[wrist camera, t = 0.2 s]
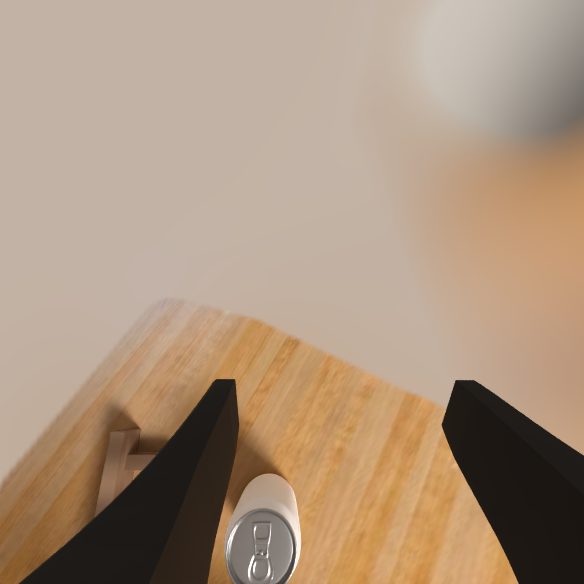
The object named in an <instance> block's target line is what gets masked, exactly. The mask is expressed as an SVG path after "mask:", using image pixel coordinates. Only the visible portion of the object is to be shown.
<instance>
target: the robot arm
mask: <svg viewBox="0 0 584 584" xmlns="http://www.w3.org/2000/svg"><path fill="white" fill-rule="evenodd" d="M442 428H443V431H444V433H445V436H446V438H447V441H448V444H449V446H450V449H451V451H452V453H453V456H454V458H455V460H456V462H457V464H458V466H459V468H460V470H461V471H462V473H463V475H464V477H465V479H466V481H467V483H468V485H469V486H470V488H471V490H472V492H473V494H474V496H475V497H476V499H477V501H478V503H479V505H480V507H481V508H482V510H483V512H484V514H485V516H486V518H487V520H488V521H489V523H490V525H491V527H492V529H493V531H494V532H495V534H496V536H497V538H498V540H499V542H500V544H501V546H502V548H503V550H504V552H505V554H506V556H507V558H508V560H509V563H510V565H511V567H512V569H513V572H514V574H515V576H516V578H517V581H518V583H519V584H584V455H582V454H581V453H579V452H577V451H576V450H574V449H573V448H571V447H570V446H568V445H567V444H565V443H564V442H562V441H561V440H559V439H558V438H556V437H555V436H554V435H552V434H550V433H549V432H548V431H546V430H545V429H543V428H542V427H541V426H539V425H538V424H536V423H534V422H533V421H532V420H530V419H529V418H528V417H526V416H525V415H524V414H522V413H521V412H519V411H518V410H517V409H515V408H514V407H512V406H511V405H509V404H508V403H507V402H505V401H504V400H502V399H501V398H500V397H498V396H497V395H495V394H494V393H493V392H491V391H490V390H488V389H486V388H485V387H484V386H482V385H481V384H479V383H478V382H476V381H474V380H456V381H455V384H454V387H453V390H452V393H451V397H450V400H449V403H448V406H447V409H446V413H445V416H444V419H443V422H442ZM238 430H239V417H238V406H237V395H236V383H235V379H216V380H215V381H214V382H213V383H212V385H211V386H210V387H209V389H208V390H207V392H206V393H205V395H204V396H203V397H202V399H201V400H200V402H199V403H198V404H197V406H196V407H195V408H194V410H193V411H192V412H191V414H190V415H189V416H188V417H187V419H186V420H185V421H184V422H183V424H182V425H181V426H180V428H179V429H178V430H177V431H176V433H175V434H174V435H173V436H172V437H171V439H170V440H169V441H168V442H167V443H166V444H165V445H164V447H163V448H162V449H161V450H160V451H159V452H158V454H157V455H156V456H155V457H154V458H153V459H152V460H151V462H150V463H149V464H148V465H147V466H146V467H145V468H144V469H143V470H142V471H141V472H140V473H139V475H138V476H137V477H136V478H135V479H134V480H133V481H132V482H131V483H130V484H129V485H128V486H127V487H126V488H125V489H124V490H123V491H122V492H121V493H120V494H119V495H118V496H117V497H116V498H115V499H114V500H113V501H112V502H111V503H110V504H109V505H108V506H107V507H105V508H104V509H103V510H102V511H101V512H100V513H99V514H98V515H97V516H96V517H95V518H94V519H93V520H92V521H91V522H90V523H88V524H87V525H86V526H85V527H84V528H83V529H82V530H81V531H80V532H79V533H78V534H76V535H75V536H74V537H73V538H72V539H71V540H70V541H69V542H67V543H66V544H65V545H64V546H63V547H62V548H60V549H59V550H58V551H57V552H56V553H55V554H53V555H52V556H51V557H50V558H49V559H47V560H46V561H45V562H44V563H43V564H41V565H40V566H39V567H38V568H37V569H36V570H34V571H33V572H32V573H31V574H30V575H28V576H27V577H26V578H25V579H24V580H22V581H21V582H20V583H19V584H207V583H208V576H209V570H210V564H211V558H212V553H213V548H214V543H215V538H216V534H217V530H218V526H219V522H220V517H221V513H222V509H223V505H224V501H225V497H226V492H227V488H228V484H229V480H230V476H231V471H232V467H233V463H234V459H235V452H236V445H237V438H238Z"/></svg>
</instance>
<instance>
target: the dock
mask: <svg viewBox="0 0 584 584" xmlns="http://www.w3.org/2000/svg"><path fill="white" fill-rule="evenodd" d="M140 431H141V429H126V430H119V431H112V432H111V435H110V440H109V445H108V450H107V455H106V460H105V465H104V470H103V475H102V480H101V485H100V490H99V495H98V500H97V505H96V510H95V515H94V518H95V517H96V516H97V515H98V514H99V513H100V512H101V511H102V510H103V509H104V508H105V507H107V506H108V505H109V504H110V503H111V502H112V501H113V500H114V499H115V498H116V497H117V496H118V495H119V494H120V493H121V492H122V491H123V490H124V489H125V488H126V487H127V486H128V485H129V484H130V483H131V482H132V479H133V473H134V470H143V469H144V468H145V467H146V466H147V465H148V464H149V463H150V462H151V460H152V459H153V458H154V457H155V456H156V455H157V454H158V452H137V449H138V443H139V437H140Z"/></svg>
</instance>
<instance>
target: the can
mask: <svg viewBox="0 0 584 584" xmlns="http://www.w3.org/2000/svg"><path fill="white" fill-rule="evenodd" d="M300 550H301V533H300V525H299V518H298V511H297V504H296V499H295V495H294V492H293V490H292V488H291V486H290V485H289V483H288V482H287V481H286V480H285V479H284V478H282V477H281V476H279V475H276V474H262V475H259V476H257V477H256V478H254V479H253V480H252V481H251V482H250V483H249V484H248V485H247V486H246V488H245V490H244V491H243V493H242V495H241V498H240V500H239V502H238V504H237V506H236V508H235V510H234V513H233V515H232V517H231V519H230V522H229V524H228V527H227V530H226V534H225V540H224V555H225V560H226V566H227V570H228V573H229V576H230V578H231V580H232V581H233V583H234V584H286V583H287V582H288V581H289V579H290V577H291V575H292V573H293V571H294V570H295V568H296V565H297V563H298V560H299V556H300Z"/></svg>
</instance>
